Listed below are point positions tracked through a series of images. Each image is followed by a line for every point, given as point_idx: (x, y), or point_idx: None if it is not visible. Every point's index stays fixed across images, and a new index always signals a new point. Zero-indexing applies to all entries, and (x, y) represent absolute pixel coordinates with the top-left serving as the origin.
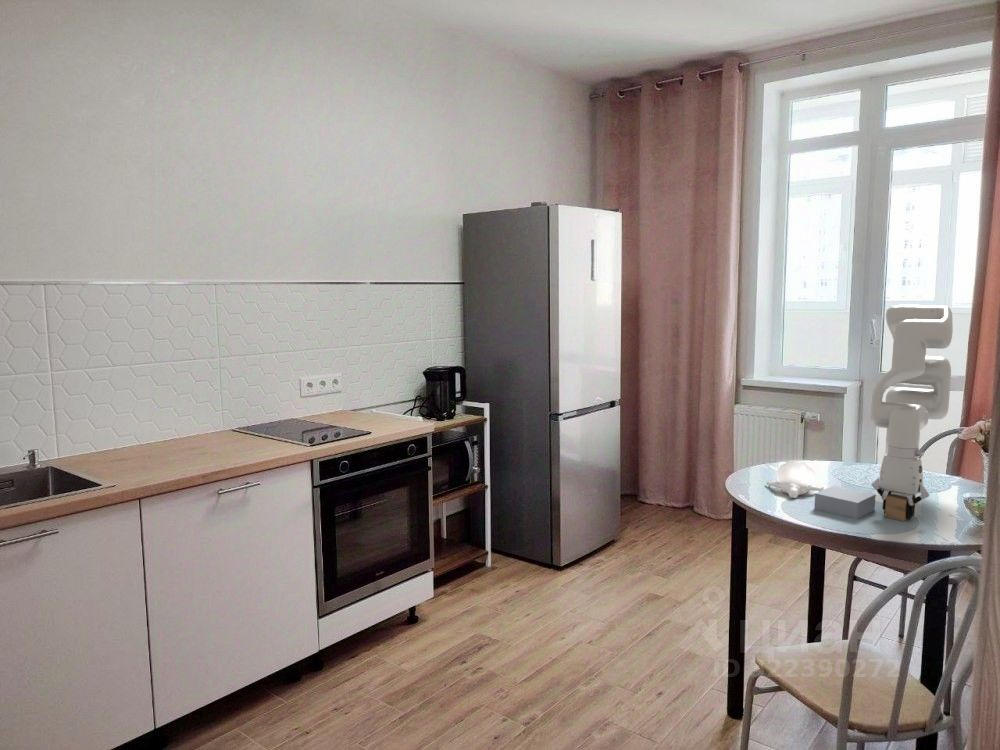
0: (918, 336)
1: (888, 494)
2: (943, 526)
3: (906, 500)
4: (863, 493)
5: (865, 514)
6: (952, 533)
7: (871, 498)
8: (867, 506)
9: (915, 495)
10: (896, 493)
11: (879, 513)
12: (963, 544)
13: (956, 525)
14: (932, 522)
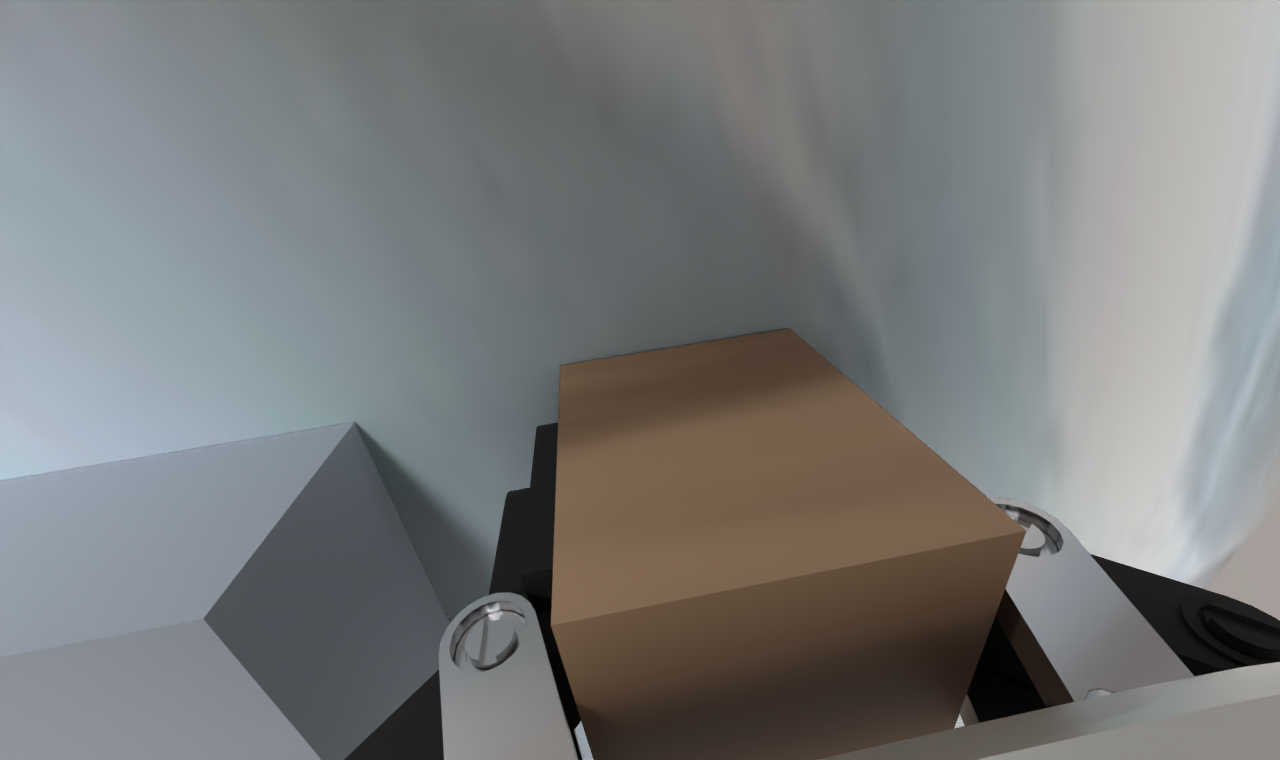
0: None
1: (523, 694)
2: (1122, 321)
3: (939, 726)
4: (61, 736)
5: (444, 614)
6: (1178, 439)
7: (322, 694)
8: (407, 669)
9: (1171, 661)
10: (643, 617)
11: (488, 485)
12: (1213, 571)
13: (1268, 151)
14: (1017, 288)
